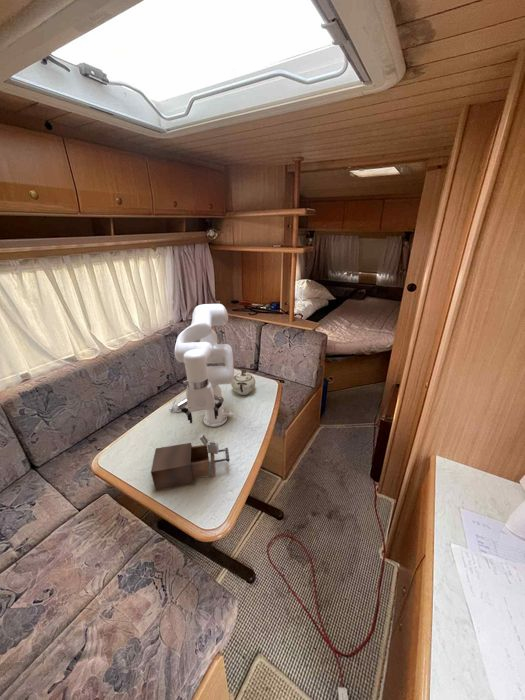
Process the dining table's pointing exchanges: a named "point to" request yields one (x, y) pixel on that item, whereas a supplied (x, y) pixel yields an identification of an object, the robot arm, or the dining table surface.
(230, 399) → the dining table surface
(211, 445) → the lighter
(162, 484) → the cabinet
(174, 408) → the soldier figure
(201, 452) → the drawer
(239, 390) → the sugar bowl
